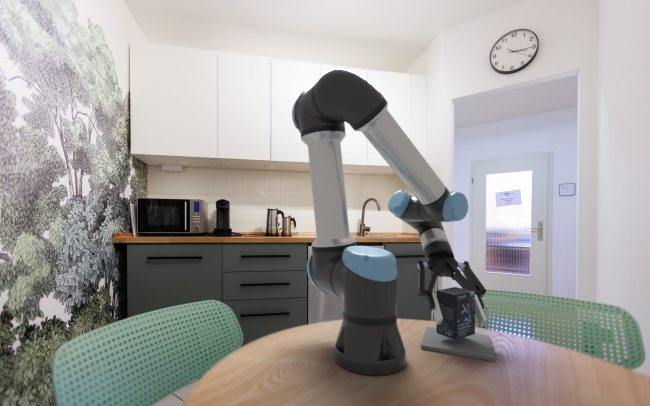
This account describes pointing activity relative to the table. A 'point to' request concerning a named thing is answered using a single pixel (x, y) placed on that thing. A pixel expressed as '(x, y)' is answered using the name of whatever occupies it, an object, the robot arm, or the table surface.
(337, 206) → the robot arm
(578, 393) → the table surface
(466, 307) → the box
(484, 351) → the mat
